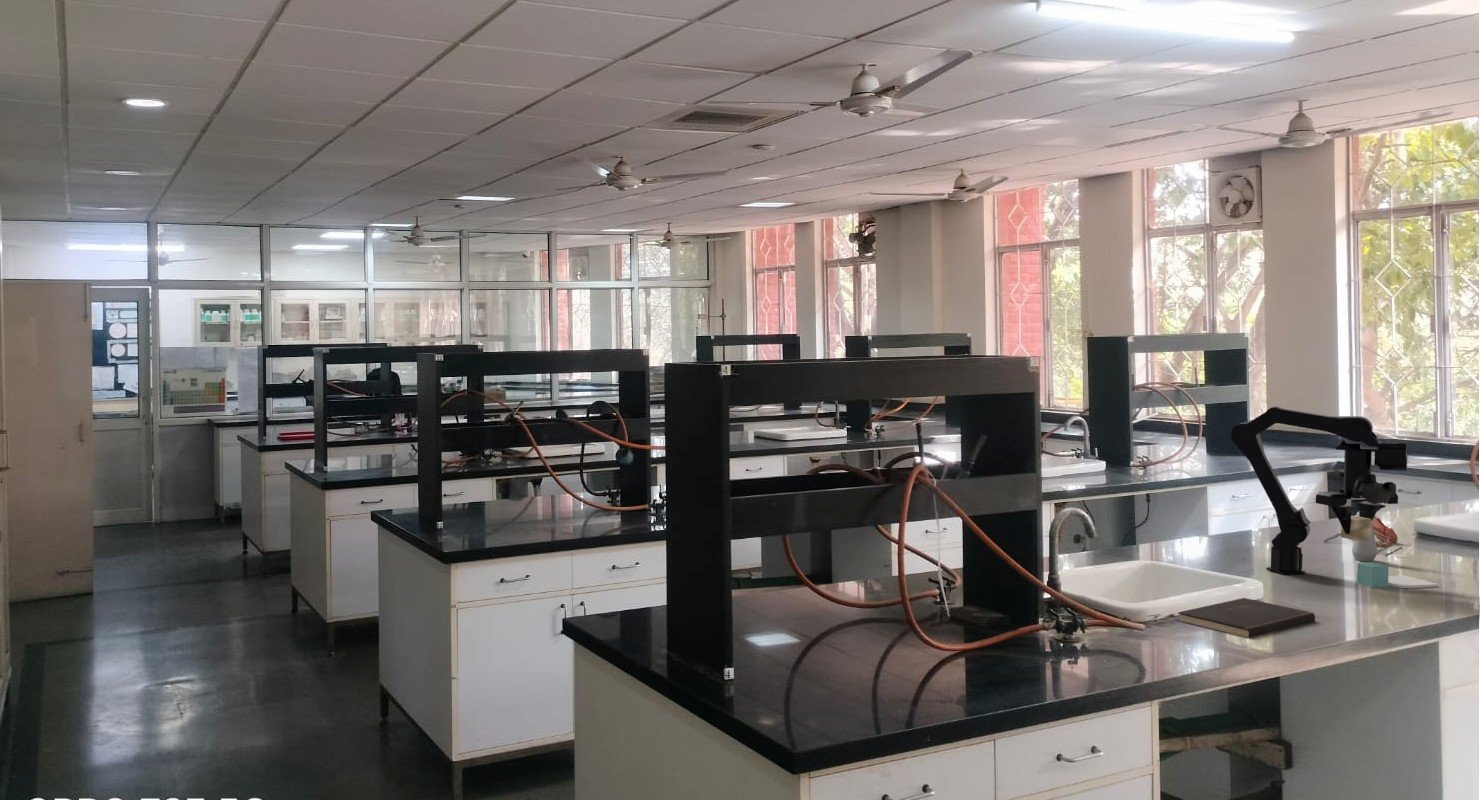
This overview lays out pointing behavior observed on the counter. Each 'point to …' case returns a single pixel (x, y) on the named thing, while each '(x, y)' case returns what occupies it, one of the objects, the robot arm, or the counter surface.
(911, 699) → the counter surface
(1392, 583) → the plate
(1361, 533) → the brick
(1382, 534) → the anatomical diagram
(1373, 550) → the salt shaker
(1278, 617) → the hardcover book
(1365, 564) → the brick
